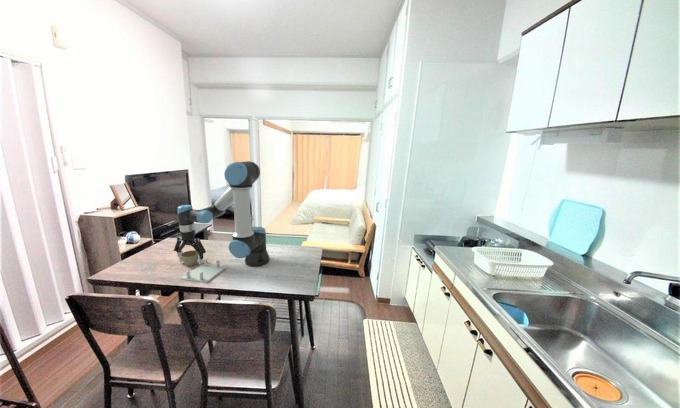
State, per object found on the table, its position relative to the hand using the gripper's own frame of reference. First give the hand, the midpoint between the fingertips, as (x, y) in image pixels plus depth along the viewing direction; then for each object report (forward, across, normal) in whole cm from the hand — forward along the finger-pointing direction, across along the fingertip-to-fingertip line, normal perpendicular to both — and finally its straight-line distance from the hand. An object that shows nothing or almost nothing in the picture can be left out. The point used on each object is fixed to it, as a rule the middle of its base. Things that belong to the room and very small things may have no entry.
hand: (191, 262), depth 148 cm
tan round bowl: (+1, 0, 0) cm, 1 cm away
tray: (+1, -16, +9) cm, 18 cm away
